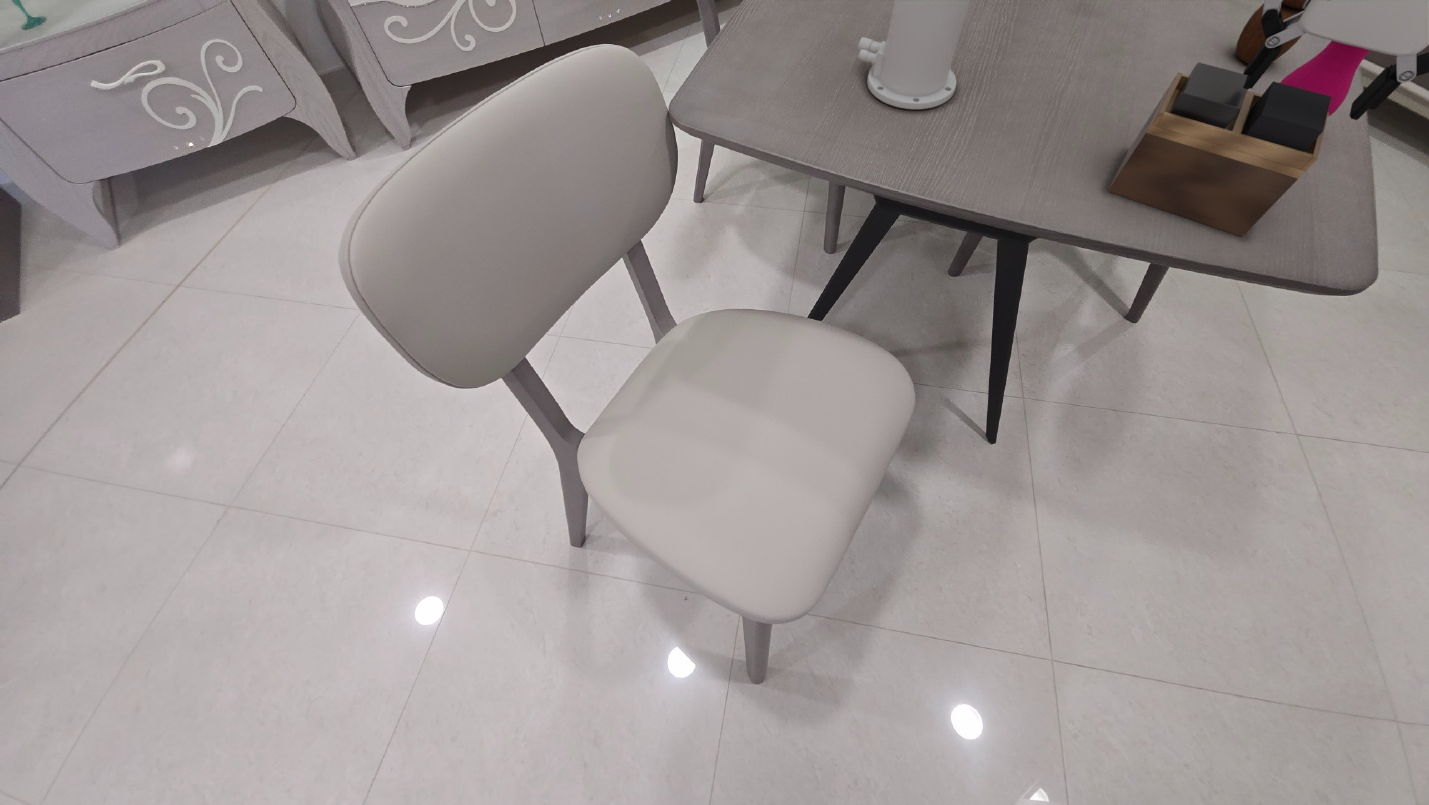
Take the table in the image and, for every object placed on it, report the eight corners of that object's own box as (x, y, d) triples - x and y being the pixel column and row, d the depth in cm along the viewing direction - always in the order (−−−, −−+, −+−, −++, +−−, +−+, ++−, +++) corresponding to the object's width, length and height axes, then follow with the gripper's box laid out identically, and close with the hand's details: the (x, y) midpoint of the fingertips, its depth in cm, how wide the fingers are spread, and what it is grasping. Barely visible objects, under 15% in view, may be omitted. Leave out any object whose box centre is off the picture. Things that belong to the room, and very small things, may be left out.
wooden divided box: (1107, 191, 74) (1170, 94, 63) (1127, 151, 77) (1189, 54, 67) (1242, 237, 69) (1335, 140, 58) (1256, 192, 73) (1345, 94, 62)
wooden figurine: (1218, 52, 89) (1299, -67, 76) (1247, 43, 90) (1332, -76, 77) (1255, 75, 85) (1346, -46, 73) (1285, 66, 86) (1381, -55, 74)
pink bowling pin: (1257, 106, 82) (1395, -68, 65) (1316, 124, 79) (1476, -51, 62) (1242, 131, 79) (1382, -43, 62) (1303, 152, 76) (1466, -24, 59)
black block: (1237, 144, 64) (1262, 114, 61) (1249, 111, 67) (1273, 80, 64) (1295, 161, 62) (1323, 131, 59) (1304, 126, 65) (1331, 96, 62)
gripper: (1620, -106, 45) (1401, 105, 60) (1359, -149, 50) (1216, 55, 65) (1629, -69, 42) (1395, 145, 57) (1349, -119, 47) (1201, 89, 62)
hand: (1300, 97), depth 61 cm, fingers open, 9 cm apart
